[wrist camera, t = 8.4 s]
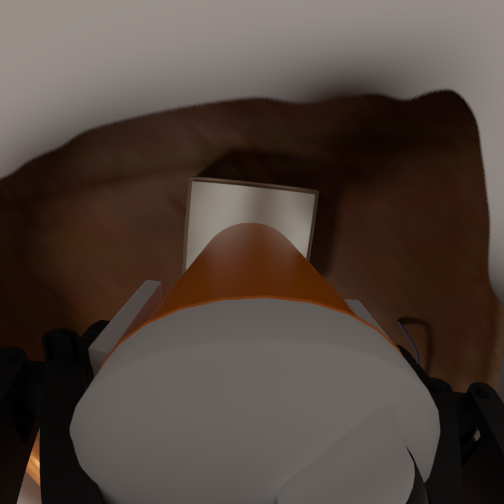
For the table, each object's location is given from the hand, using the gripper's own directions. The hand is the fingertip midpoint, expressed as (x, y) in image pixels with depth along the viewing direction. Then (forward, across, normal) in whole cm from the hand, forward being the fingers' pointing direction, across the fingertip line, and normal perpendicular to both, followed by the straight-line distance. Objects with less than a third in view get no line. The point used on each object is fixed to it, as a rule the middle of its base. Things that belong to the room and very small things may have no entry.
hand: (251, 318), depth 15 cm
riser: (+19, 0, 0) cm, 19 cm away
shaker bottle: (+8, 0, 0) cm, 8 cm away
